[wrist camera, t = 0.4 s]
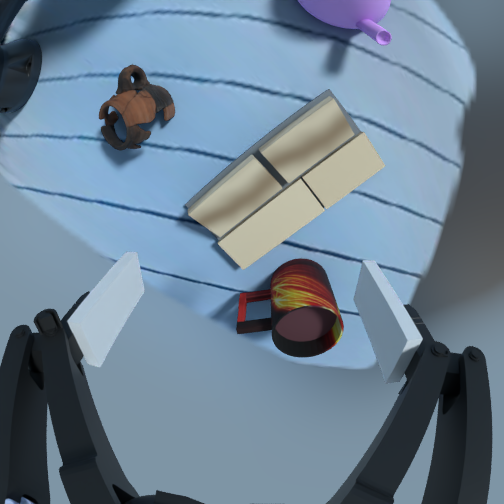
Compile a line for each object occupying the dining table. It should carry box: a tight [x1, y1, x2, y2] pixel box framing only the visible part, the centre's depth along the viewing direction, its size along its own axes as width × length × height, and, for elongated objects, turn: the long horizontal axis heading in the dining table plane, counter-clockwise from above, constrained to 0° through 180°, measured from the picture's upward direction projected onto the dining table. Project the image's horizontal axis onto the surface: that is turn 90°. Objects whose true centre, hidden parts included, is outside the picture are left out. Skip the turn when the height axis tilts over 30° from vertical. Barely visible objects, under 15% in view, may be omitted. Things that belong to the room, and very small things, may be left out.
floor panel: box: [185, 89, 385, 270], centre depth 37 cm, size 13×26×2 cm, turn 130°
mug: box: [236, 259, 344, 357], centre depth 41 cm, size 10×14×12 cm
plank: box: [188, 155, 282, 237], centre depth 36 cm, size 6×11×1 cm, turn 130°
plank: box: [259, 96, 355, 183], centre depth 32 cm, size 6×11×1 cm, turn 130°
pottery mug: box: [99, 65, 175, 150], centre depth 31 cm, size 12×9×8 cm
